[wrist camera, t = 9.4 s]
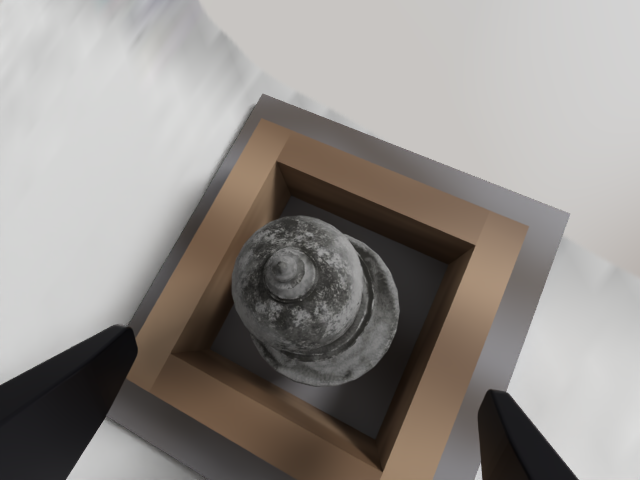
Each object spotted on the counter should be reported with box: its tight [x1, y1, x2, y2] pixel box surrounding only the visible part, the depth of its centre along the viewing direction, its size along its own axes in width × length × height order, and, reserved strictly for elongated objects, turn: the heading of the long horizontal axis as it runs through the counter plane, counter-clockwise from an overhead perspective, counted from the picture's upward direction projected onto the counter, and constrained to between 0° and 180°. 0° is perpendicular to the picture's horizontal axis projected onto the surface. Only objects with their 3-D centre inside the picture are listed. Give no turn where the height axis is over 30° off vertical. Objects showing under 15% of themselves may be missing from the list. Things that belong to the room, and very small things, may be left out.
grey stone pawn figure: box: [232, 215, 400, 387], centre depth 12 cm, size 6×6×12 cm
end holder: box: [106, 94, 570, 480], centre depth 16 cm, size 18×17×5 cm
